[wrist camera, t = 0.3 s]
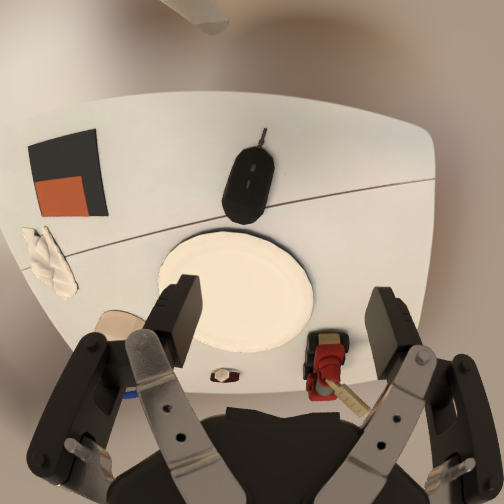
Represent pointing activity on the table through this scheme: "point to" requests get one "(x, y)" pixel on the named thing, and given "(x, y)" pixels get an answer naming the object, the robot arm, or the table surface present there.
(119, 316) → the kettle
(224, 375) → the watch
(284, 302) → the plate
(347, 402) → the toy fire truck
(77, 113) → the table surface
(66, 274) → the cloth
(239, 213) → the gaming mouse
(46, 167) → the mat
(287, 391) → the table surface
